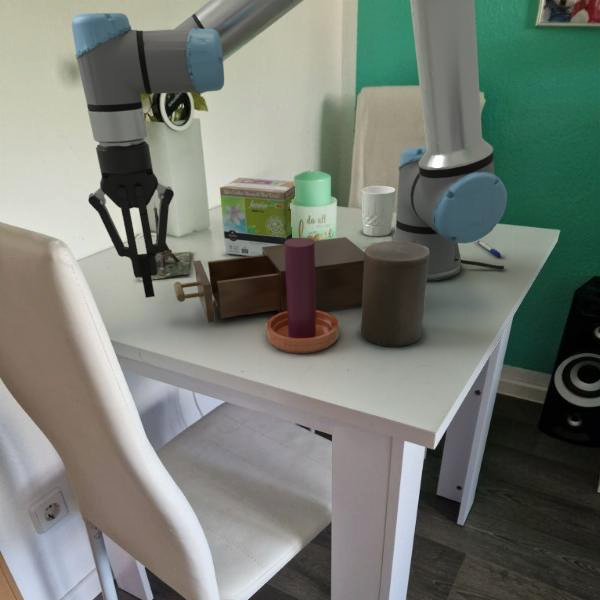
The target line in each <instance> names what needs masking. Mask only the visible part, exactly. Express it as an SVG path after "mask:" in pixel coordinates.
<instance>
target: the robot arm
mask: <svg viewBox="0 0 600 600" xmlns="http://www.w3.org/2000/svg"><path fill="white" fill-rule="evenodd" d="M304 1H305V0H208V2H206V3H205V4H204V5H202V7H200V8H199V9H197V10H196V11H195V12H194V13H193V14H192V15H190V16H188V17H187V18H186V19H185V20H184V21H182V22H181V23H179V24H178V25H177V26H176V27H175V28H173V29H155V30H137V29H132V26H131V24H130V21H129V18H128V16H127V15H126V14H125V13H122V12H106V13H105V12H94V13H93V12H90V13H77V14H75V16H73V18H72V20H71V29H72V30H71V31H72V36H73V42H74V48H75V58H76V62H77V66H78V71H79V75H80V79H81V83H82V88H83V93H84V97H85V101H86V106H87V113H88V118H89V123H90V128H91V132H92V137H93V140H94V141H95V142H96V143H98V144H97V145H96V147H95V151H96V156H97V161H98V166H99V170H100V174H101V178H100V181H99V188H98V189H96V191H94V192H92V193H89V195H88V200H87V201H88V203H89V205H90V206H91V207H92V208H93V209H94V210H95V211H96V212H97V214H98V215H99V217H100V219H101V222H102V224H103V226H104V228H105V230H106V232H107V234H108V236H109V238H110V240H111V242H112V244H113V247H114V248H115V250H116V252H117V255H118V256H119V257H121V258H123V257H125V258H129V260H130V261H131V267H132V271H133V275H134V277H135V278H136V279H137V278H140V277H142V280H143V281H142V285H143V290H144V295H145V296H144V297H145V298H147V299H148V298H153V297H154V298H155V297H156V294H155V291H154V284H153V279H152V278H151V276H153V275H157V273H158V271H157V265H156V259H155V256H156V254H158V253H160V252H164V251H165V245H166V244H167V234H168V233H167V231H168V222H169V221H168V220H169V211H170V210H169V209H170V204H171V203H172V200H173V199H174V195H175V193H174V190H173V188H172V186H166V185H164V184H162V183H161V182H159V180H158V178H157V176H156V174H155V173H154V170H153V163H152V156H151V151H150V145H149V143H148V141H145V140H146V139H147V137H148V133H147V126H146V119H145V113H144V107H143V102H142V95H152V94H183V93H184V94H187V93H188V94H189V93H198V94H204V93H208V92H209V93H210V92H218V91H221V90H222V89H223V87H224V86H225V68H224V62H225V61H226V60H228V59H229V58H230V57H232V56H233V55H234V54H235V53H237V52H238V51H240V50H241V49H242V48H243V47H245V46H246V45H247V44H248V43H250V42H251V41H252V40H253V39H255V38H256V37H258V36H259V35H260V34H261V33H263V32H264V31H266V30H267V29H268V28H269V27H271V26H272V25H273V24H274V23H276V22H277V21H279V20H280V19H281V18H283V17H284V16H286V15H287V14H288V13H290V12H291V11H292V10H293V9H294V8H296V7H297V6H299V5H300V4H302V2H304ZM409 2H410V12H411V21H412V29H413V39H414V47H415V56H416V57H415V58H416V66H417V75H418V76H417V77H418V84H419V93H420V94H419V95H420V102H421V112H422V119H423V120H422V121H423V129H424V136H425V137H424V138H425V146H418V147H409V148H406V149H404V150H403V151H402V152H401V154H400V161H399V165H398V182H397V183H398V186H397V200H396V204H397V205H396V217H395V219H396V221H395V229H394V233H393V235H392V237H391V240H390V241H402V242H412V243H417V244H419V245H423V246H426V247H427V248H429V263H428V274H427V282H430V281H433V282H434V281H441V280H442V281H443V280H445V279H450V278H452V277H455V276H457V275H458V274H459V273H460V270H461V266H462V265H471V266H476V267H483V268H489V269H493V270H504V269H505V265H500V264H499V265H498V264H492V263H486V262H480V261H473V260H466V259H462V258H461V257H462V256H461V253H460V252H461V251H460V248H459V244H471V243H474V242H476V241H477V242H478V241H480V240H481V239H483V238H485V237H486V236H487V235H488V234H490V233H491V232H492V231H493V230H494V228H495V227H496V225H498V224H499V223H500V221H501V220H502V218H503V217H504V214H505V211H506V208H507V203H508V202H507V201H508V193H507V189H506V187H505V185H504V182H503V181H502V180H501V179H500V177H499V176H497V174H496V175H495V163H494V160H495V159H494V148H493V146H492V145H491V144H490V143H489V142H488V141H486V140H485V139H484V138H483V131H482V115H481V112H482V111H481V96H480V81H479V80H480V79H479V78H480V77H479V76H480V75H479V62H478V60H479V59H478V43H477V26H476V25H477V24H476V23H477V21H476V7H475V6H476V5H475V0H410V1H409ZM156 191H157V198H158V199H159V205H158V207H159V209H158V230H157V243H156V242H155V243H153V236H152V230H151V226H150V219H149V214H148V213H149V212H148V208H147V207H148V205H149V204H150V203H151V200H152V198H153V196H154V194H155V193H156ZM105 196H106V197H108V199H110V201H111V202H112V203H114V204H115V206H117V207H118V208H120V211H121V216H122V220H123V225H124V230H125V237H126V241H127V246H125V243H124V241H123V240H122V238H121V235H120V233H119V231H118V228H117V227H116V225H115V223H114V220H113V218H112V216H111V213H110V212H109V210H108V208H107V206H106V203H107V199H106V197H105ZM133 208H134V209H138V213H139V218H140V224H141V230H142V235H143V241H144V245H145V251H146V253H139V252H138V248H137V247H138V246H137V241H136V236H135V230H134V226H133V220H132V214H131V209H133Z"/></svg>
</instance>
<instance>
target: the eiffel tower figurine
mask: <svg viewBox="0 0 600 600" xmlns="http://www.w3.org/2000/svg"><path fill="white" fill-rule="evenodd" d="M153 205H154V207H153V212H154V213H153V214H154V220H155V221H154V222H155V233H156V234H155V235H156V239H155V243H157V230H158V217H159V212H158V208H157V207H156V204H155V202H153ZM191 256H192V251H183V252H182V251H181V252H173V251H172V249H170V248H169V246H168V244H167V243H166V245H165V251H164V252H160V253H158V254H156V256H155V259H156V265H157V271H158V273H157V275H153V276H151V278H152V280H159V279H165V278H171V277H175V276H176V277H177V276H182V275H189V272H190V264H191ZM139 282H143V280H142V277H139Z"/></svg>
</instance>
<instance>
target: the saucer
mask: <svg viewBox="0 0 600 600" xmlns="http://www.w3.org/2000/svg"><path fill="white" fill-rule="evenodd" d="M265 330H266V338H267V340H268V342H269V343H270V344H271V345H273V346H274V347H275V348H276V349H279V350H281V351H284V352H287V353H293V354H311V353H316V352H320V351H322V350H325V349H327V348H329V347H330V346H331V345H333V344H334V343H335V342H336V341H337V340H338V338H339V335H340V334H339V333H340V332H339V331H340V324H339V320H338V319H337V317H336V316H334V315H333V314H331V313H329V312H328V311H326V312H323V311H320V310H316V336H315V337H312V338H290V337H289V335H288V312H287V311H285V312H282V313H279V312H278V313H277V314H275V315H273V316H271V317H270V319H269V320H267V322H266V329H265Z"/></svg>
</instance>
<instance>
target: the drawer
mask: <svg viewBox="0 0 600 600" xmlns="http://www.w3.org/2000/svg"><path fill="white" fill-rule="evenodd" d="M193 266H194V274H195V280H196V281H191V282H186V283H185V282H184V283H181V282H180V281H175V282H174V283H173V289H174V292H175V293H174V294H175V296H176V300H177V302H180V303H183V302H184V301H186V299H195V298H199V301H200V305H201V307H202V310H203V313H204V315H205V319H206V320H207V323H208V324H211V323H216V316H215V310H214V309H215V308H214V304H215V305H216V308H217V311H218V313H219V315H220V318H221V319H224V318H232V317H239V316H244V315H245V316H246V315H252V314H259V313H265V312H272V311H273V312H274V311H278V310H281V294H280V275H279V273H278V271H277V270H276V269H275V267H274V266H273V265H272V263H271V262H270V260H269V259H268V258H267V256H266V255H265V254H264V255H256V256H241V257H240V256H239V257H233V258H232V257H231V258H225V259H217V260H216V259H215V260H208V261H207V267H208V275H207V272H206V270H205V267H204V266H203V263H202V261H201V260H200V259H199V260H194V261H193ZM208 276H209V277H208ZM193 287H197V288H196V289H197V292H191V293H185V291H184V288H193Z"/></svg>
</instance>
